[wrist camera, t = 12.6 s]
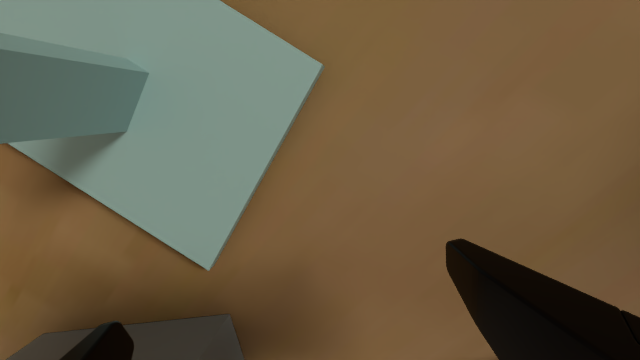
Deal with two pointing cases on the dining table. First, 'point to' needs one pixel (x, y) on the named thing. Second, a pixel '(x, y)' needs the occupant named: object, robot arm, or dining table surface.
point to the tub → (152, 341)
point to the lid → (152, 107)
